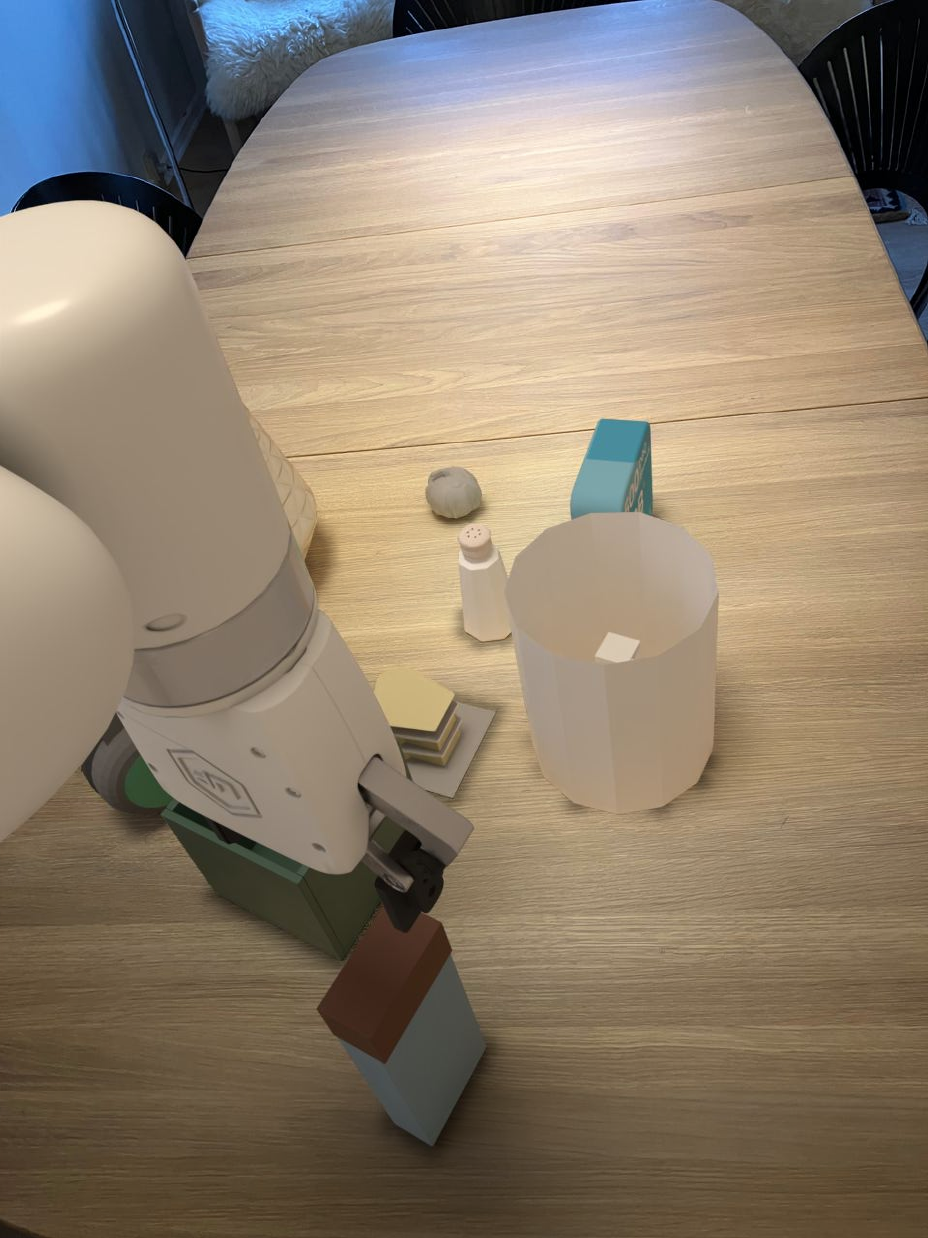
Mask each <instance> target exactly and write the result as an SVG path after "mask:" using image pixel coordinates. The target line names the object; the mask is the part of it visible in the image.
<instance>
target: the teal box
mask: <svg viewBox="0 0 928 1238" xmlns="http://www.w3.org/2000/svg"><path fill="white" fill-rule="evenodd" d="M652 463H653V461H652V431H651V424H650V422H649V421H644V420H633V419H632V420H629V419H618V418H616V419H615V418H600V419H599V420H598V421H597V422H596V426H595V428H594V431H593V433H592V436H591V439H590V441H589V444H588V447H587V449H586V452H585V455H584V458H583V460H582V462H581V466H580V468H579V471H578V473H577V476H576V479H575V482H574V485H573V487H572V489H571V494H570V502H569V503H570V504H569V510H570V511H569V512H570V520H572V519H575V518H578V517H581V516H584V515H586V514H589V513H611V512H641V513H644V514H647V515H649V516H652V517H653V509H654V496H653V494H654V493H653V490H654V489H653V469H652V468H653V466H652V465H653V464H652Z"/></svg>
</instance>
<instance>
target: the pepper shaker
mask: <svg viewBox="0 0 928 1238" xmlns="http://www.w3.org/2000/svg"><path fill="white" fill-rule="evenodd" d="M457 541H458V543H459V545H460V551H458V571H459V572H458V573H459V583H460V594H461V604H462V615H463V616H462V617H463V628H464V632H465V633H467V634H468V635H470V636H471V637H473V638H475V639H476V640H478V641H480V642H483V643H485V642H492V641H498V640H499V641H501V640H505V639H507V637H508V636H509V635H510V634H512V632H511V627H510V622H509V616H508V611H507V605H506V600H505V595H504V591H505V588H506V585H507V582H508V578H509V575H508V573H507V570H506V566H505V564H504V560H503V557H502V555H501V552H500V549H499V547H498V546H496V545H494V544H493V541H492V532H491V529H490V527H488V526H487V525H485V524H483V523H482V524H481V523H471V524H467V525H466V526H463V528H461V530H460V531H459V532H458V534H457Z"/></svg>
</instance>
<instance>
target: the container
mask: <svg viewBox="0 0 928 1238" xmlns="http://www.w3.org/2000/svg"><path fill="white" fill-rule="evenodd" d="M504 595H505V600H506V605H507V611H508V616H509V622H510V627H511V637H512V643H513V648H514V654H515V659H516V666H517V670H518V675H519V681H520V686H521V691H522V697H523V702H524V707H525V713H526V717H527V718H526V719H527V723H528V729H529V734H530V740H531V744H532V746H533V750H534V752H535V757H536V759H537V761H538V762H537V763H538V765H539V769H540V771H541V774H542V775H541V776H542V777H543V778H544V779H545V780H546V781H547V782H548V783H549V784H551V785H552V786H553V787H554V788H556V789H557V790H558V791H559V792H560V793H561V794H562V795H564V796H565V797H566V798H567V799H568V800H570V801H571V802H572V803H573V804H574V805H579V806H583V807H586V808H591V809H595V810H598V811H602V812H606V813H611V814H614V815H622V814H623V815H624V814H628V813H634V812H641V811H645V810H646V811H647V810H652V809H659V808H663V807H665V806H667V805H668V804H669V803H670V802H672V801H673V800H675V799H677V798H678V797H679V796H681V795H682V794H683V793H685V792H686V791H688V790H689V789H690V788H692V787H693V786H695V785H697V783H698V782H699V780H700V778H701V775H702V774H703V771H704V770H705V767H706V765H707V763H708V761H709V758H710V756H711V754H712V752H713V750H714V746H715V745H714V743H715V742H714V741H715V740H714V739H715V714H716V713H715V710H716V688H717V687H716V685H717V657H718V630H719V629H718V627H719V606H720V605H719V604H720V603H719V602H720V601H719V600H720V590H719V584H718V580H717V575H716V569H715V563H714V559H713V554H711V552H709V551H708V550H707V549H706V548H705V547H704V546H703V545H702V544H701V543H700V541H698V540H697V539H696V538H695V537H694V536H693V535H692V534H691V533H690V532H689V531H688V530H686V528H685V527H683V526H682V525H679V524H676V523H673V522H670V521H667V520H664V519H661V518H658V517H656V516H653V515H652V516H649V515H647V514H644V513H641V512H611V513H589V514H586V515H584V516H581V517H578V518H575V519H572V520H571V519H570V520H567V521H564V522H561V523H558V524H556V525H553V526H551V527H548V528H545V529H544V531H543V532H542V533H540V534H539V535H538V536H537V537H536V538H535V539H534V540H533V541H531V542H530V543H529V544H528V545H527V546H526V547H525V548H523V550H521V551H520V552H519V553H518V554H517V555H516V556H515V557H514V560H513V564H512V566H511V570H510V573H509V575H508V582H507V585H506V588H505V591H504Z"/></svg>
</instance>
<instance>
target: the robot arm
mask: <svg viewBox="0 0 928 1238" xmlns="http://www.w3.org/2000/svg"><path fill="white" fill-rule="evenodd" d="M243 403H244V402H243V400H242V398H241V395H240V393H239V389H238V387H237V385H236V382H235V379H234V377H233V374H232V372H231V369H230V366H229V365H228V362H227V359H226V356H225V354H224V352H223V348H222V346H221V344H220V341H219V339H218V336H217V333H216V331H215V329H214V325H213V323H212V321H211V319H210V315H209V313H208V311H207V308H206V305H205V302H204V300H203V298H202V295H201V292H200V289H199V288H198V285H197V283H196V281H195V278H194V276H193V274H192V272H191V270H190V267H189V265H188V263H187V261H186V259H185V256H184V254H183V252H182V251H181V249H180V248H179V246H178V245H177V244H176V242H175V240H173V239H172V238H171V236H170V235H169V234H168V233H167V232H166V231H165V230H164V229H163V228H162V227H161V226H160V225H159V224H158V223H157V222H156V221H154V220H152V219H151V218H149V217H148V216H146V215H145V214H143V213H142V212H139V211H137V210H135V209H134V208H130V207H126V206H123V205H120V204H116V203H113V202H108V201H101V200H93V199H92V200H91V199H89V200H68V201H67V200H66V201H58V202H52V203H48V204H42V205H36V206H33V207H27V208H24V209H20V210H17V211H14V212H10V213H8V214H4V215H2V216H0V844H1V843H2V842H3V841H4V840H5V839H6V838H8V837H9V836H10V835H12V833H15V831H16V830H17V829H18V828H20V827H21V826H22V825H23V824H25V823H26V822H27V821H28V820H29V819H30V818H31V817H32V816H34V815H35V814H36V813H38V811H39V810H40V809H41V808H42V807H43V806H45V804H46V803H47V802H49V800H51V799H52V797H53V796H54V795H55V794H56V793H57V792H59V790H60V789H61V788H62V787H63V786H64V785H65V784H66V782H67V781H68V780H69V779H70V778H71V777H72V776H73V775H74V774H75V773H76V772H77V771H78V770H79V768H81V765H82V764H83V762H84V761H85V760H86V758H87V757H88V755H89V754H90V753H91V751H92V750H93V748H94V747H95V746H96V744H97V743H98V741H99V740H100V739H101V737H102V736H103V734H104V733H105V732H106V730H107V729H108V727H109V725H110V723H111V721H112V719H113V717H114V715H115V713H117V715H118V717H119V719H120V720H121V722H122V724H123V726H124V727H125V729H126V731H127V733H128V734H129V736H130V738H131V739H132V741H133V743H134V744H135V746H136V748H137V749H138V751H139V753H140V754H141V756H142V757H143V759H144V761H145V762H146V764H147V766H148V767H149V769H150V770H151V772H152V774H153V775H154V777H155V778H156V780H157V781H158V783H159V784H160V785H161V787H162V788H163V789H164V790H165V791H166V792H167V793H168V794H169V795H171V796H172V797H173V798H175V799H176V800H177V801H179V802H180V803H182V804H184V805H185V806H187V807H189V808H191V809H192V810H194V811H196V812H198V813H200V814H202V815H203V816H204V817H205V819H206V820H207V822H208V824H209V825H210V827H211V828H212V830H213V831H214V833H215V834H216V836H217V837H218V839H219V840H221V841H223V842H225V843H227V844H232V843H236V842H237V841H238V840H239V838H240V837H241V836H242V835H243V836H245V837H247V838H249V839H252V840H254V841H256V842H258V843H260V844H262V845H264V846H266V847H268V848H270V849H272V850H274V851H276V852H278V853H280V854H282V855H284V856H287V857H289V858H291V859H293V860H295V861H297V862H299V863H301V864H304V865H306V866H308V867H310V868H313V869H315V870H318V871H320V872H324V873H328V874H345V873H349V872H351V871H352V870H353V869H354V868H355V867H356V865H357V864H358V863H359V862H360V860H361V861H362V862H363V863H364V864H365V865H366V866H368V867H369V868H370V869H371V870H372V871H373V872H374V873H375V874H377V875H378V876H377V878H376V880H375V884H374V886H375V889H376V891H377V893H378V895H379V897H380V899H381V901H380V902H381V903H382V906H383V905H384V908H385V910H386V912H387V914H388V916H389V918H390V920H391V922H392V924H393V926H394V928H396V929H397V930H399V931H401V932H403V933H407V932H408V931H409V930H410V929H411V928H412V926H413V924H414V923H415V921H416V919H417V918H418V916H419V915H420V913H421V912H422V913H424V914H426V915H427V914H428V913H430V912H431V911H432V910H433V908H434V907H435V905H436V903H437V902H438V900H439V899H440V897H441V895H442V892H443V890H444V889H443V888H444V887H445V886H444V885H445V881H444V876H443V875H444V871H445V869H446V868H447V867H449V866H450V865H451V864H452V863H453V862H454V860H455V859H456V858H457V857H458V856H459V854H460V852H461V851H462V849H463V848H464V846H465V845H466V842H467V841H468V839H469V838H470V836H471V834H472V833H473V831H474V830H475V826H474V824H473V823H472V822H471V820H470V819H468V818H467V817H465V816H464V815H463V814H461V813H460V812H458V811H457V810H455V809H454V808H453V807H451V806H449V805H448V804H447V803H445V802H444V801H442V800H441V799H439V798H438V797H436V796H434V795H433V794H432V793H430V791H427V790H424V789H423V788H421V787H420V786H418V785H417V784H415V783H414V782H412V781H411V780H410V779H408V778H407V777H406V771H405V766H404V763H403V759H402V756H401V753H400V750H399V747H398V745H397V742H396V740H395V737H394V735H393V732H392V730H391V727H390V725H389V723H388V720H387V718H386V716H385V714H384V712H383V710H382V707H381V705H380V703H379V702H378V700H377V698H376V696H375V694H374V690H373V687H372V686H371V683H370V682H369V681H368V678H367V676H366V675H365V672H364V671H363V669H362V667H361V666H360V664H359V662H358V661H357V659H356V657H355V655H354V654H353V652H352V651H351V649H350V647H349V646H348V644H347V643H346V641H345V639H344V637H342V635H341V634H340V632H339V630H338V629H337V628H336V625H335V624H334V622H333V621H332V620H331V617H329V616H328V615H327V614H326V613H325V612H323V610H321V609H320V608H319V598H318V594H317V590H316V587H315V584H314V582H313V579H312V577H311V575H310V573H309V570H308V567H307V564H306V562H305V561H304V559H303V556H302V554H301V551H300V549H299V546H298V544H297V541H296V539H295V536H294V533H293V531H292V528H291V526H290V523H289V521H288V518H287V515H286V513H285V510H284V507H283V505H282V502H281V500H280V497H279V495H278V492H277V490H276V487H275V484H274V482H273V479H272V477H271V474H270V472H269V469H268V466H267V464H266V461H265V459H264V456H263V454H262V451H261V449H260V446H259V443H258V441H257V438H256V436H255V433H254V431H253V428H252V426H251V423H250V420H249V418H248V415H247V413H246V410H245V408H244V405H243ZM364 801H365V802H366V804H365V803H364ZM386 816H387V817H388V818H390V819H391V820H392V821H394V822H395V823H397V824H398V825H400V826H401V827H403V828H404V829H406V830H404V831H403V833H402V834H401V836H400V837H399V839H398V840H397V842H396V843H395V845H394V846H393V848H392V849H391V851H390V853H389V854H388V853H387V852H386V851H385V850H383V849H382V848H381V847H380V846H379V845H378V844H377V843H376V842H375V841H373V840H372V839H371V838H372V837H373V836H374V834H375V833H376V831H377V830H378V828H379V827H380V825H381V824H382V822H383V821H384V819H385V818H386Z"/></svg>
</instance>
